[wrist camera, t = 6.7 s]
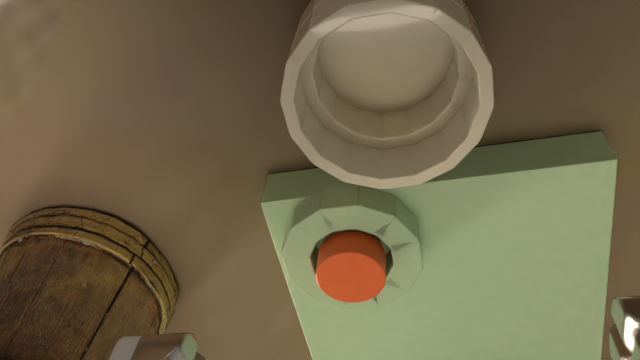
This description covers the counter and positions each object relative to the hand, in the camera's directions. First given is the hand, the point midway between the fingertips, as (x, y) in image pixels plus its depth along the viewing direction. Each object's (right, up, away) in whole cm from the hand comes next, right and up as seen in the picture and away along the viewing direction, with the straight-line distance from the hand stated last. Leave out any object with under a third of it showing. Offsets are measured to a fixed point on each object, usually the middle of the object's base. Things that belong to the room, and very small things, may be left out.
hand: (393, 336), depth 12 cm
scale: (+5, -2, +18) cm, 19 cm away
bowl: (+1, +8, +11) cm, 14 cm away
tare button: (0, 0, +13) cm, 13 cm away
